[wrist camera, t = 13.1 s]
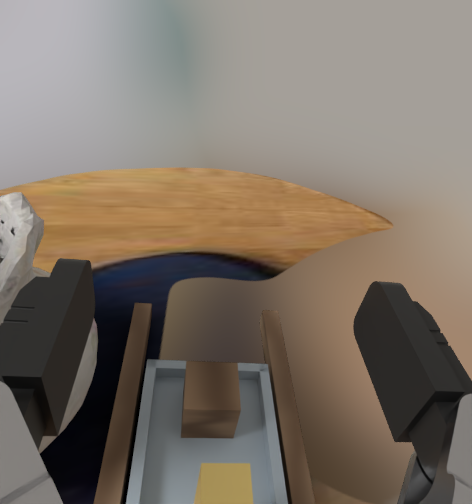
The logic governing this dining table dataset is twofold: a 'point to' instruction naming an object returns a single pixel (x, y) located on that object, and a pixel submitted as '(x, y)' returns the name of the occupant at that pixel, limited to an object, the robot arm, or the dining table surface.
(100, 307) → the dining table surface
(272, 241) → the dining table surface
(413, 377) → the robot arm
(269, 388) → the shallow grey tray
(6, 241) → the ceramic pitcher
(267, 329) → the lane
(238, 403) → the block
